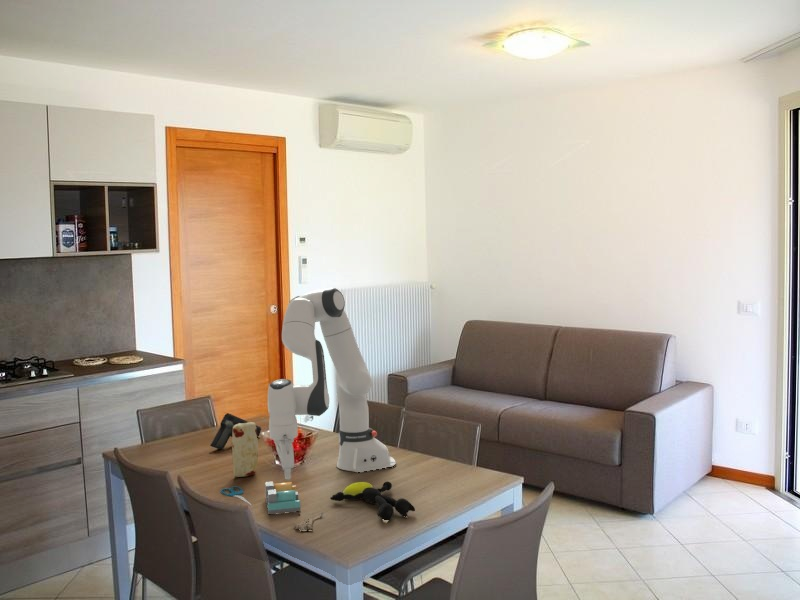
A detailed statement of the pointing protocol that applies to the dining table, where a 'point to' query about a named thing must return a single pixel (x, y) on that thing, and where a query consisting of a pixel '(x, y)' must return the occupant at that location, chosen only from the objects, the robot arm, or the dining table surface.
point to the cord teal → (281, 496)
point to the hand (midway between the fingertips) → (286, 473)
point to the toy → (375, 498)
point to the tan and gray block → (277, 487)
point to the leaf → (306, 525)
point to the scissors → (235, 493)
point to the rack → (284, 505)
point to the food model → (244, 449)
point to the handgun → (227, 430)
